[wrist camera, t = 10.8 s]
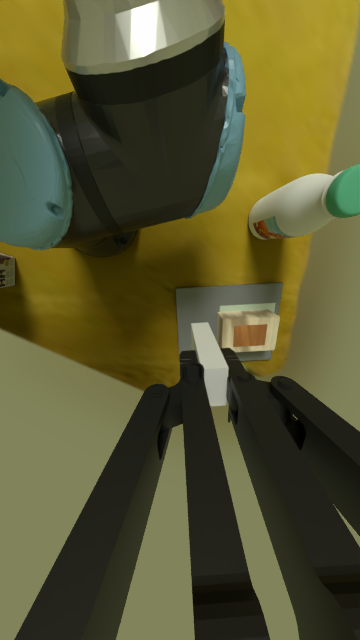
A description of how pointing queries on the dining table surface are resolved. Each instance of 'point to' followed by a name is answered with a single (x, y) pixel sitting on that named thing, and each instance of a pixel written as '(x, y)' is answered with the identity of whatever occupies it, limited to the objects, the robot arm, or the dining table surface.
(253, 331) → the maple block
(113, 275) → the dining table surface
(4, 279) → the coffee box
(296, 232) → the milk bottle
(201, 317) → the topple mat
